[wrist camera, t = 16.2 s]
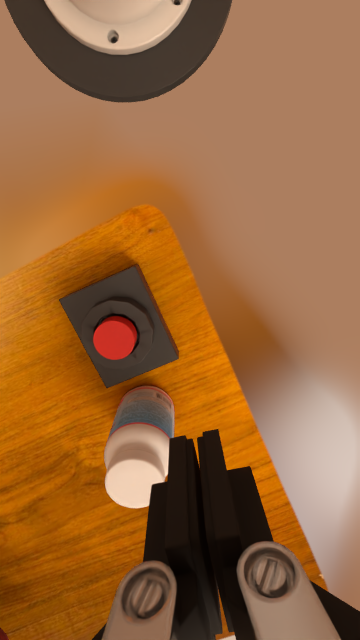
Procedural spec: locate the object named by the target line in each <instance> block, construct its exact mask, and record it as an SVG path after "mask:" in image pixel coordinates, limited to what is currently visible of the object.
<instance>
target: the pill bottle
mask: <svg viewBox="0 0 360 640" xmlns="http://www.w3.org/2000/svg"><path fill="white" fill-rule="evenodd" d="M170 438H174V405H173V402H172V400H171V398H170V397H169V396H168V394H167V393H165V392H164V391H163V390H161V389H159V388H157V387H154V386H140V387H137V388H134V389H132V390H130V391H129V392H127V393H126V394H125V395H124V396H123V398H122V399H121V401H120V404H119V407H118V410H117V413H116V416H115V419H114V422H113V425H112V428H111V431H110V434H109V438H108V441H107V444H106V447H105V452H104V461H105V465H106V468H107V473H106V477H105V487H106V491H107V493H108V494H109V496H110V497H111V498H112V499H113V500H114V501H115V502H117V503H118V504H120V505H122V506H125V507H129V508H142V507H146V506H148V505H149V502H150V493H151V486H152V484H156V483H161V482H164V480H165V477H166V476H167V474H168V459H169V439H170Z"/></svg>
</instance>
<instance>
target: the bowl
mask: <svg viewBox="0 0 360 640" xmlns="http://www.w3.org/2000/svg"><path fill="white" fill-rule="evenodd" d="M0 640H9V639H8V637H7V635H6V634H5V633H4V631H3V630H2V629H1V628H0Z"/></svg>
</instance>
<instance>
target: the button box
mask: <svg viewBox="0 0 360 640" xmlns="http://www.w3.org/2000/svg"><path fill="white" fill-rule="evenodd" d="M59 301H60V303H61V305H62V307H63V309H64V310H65V312H66V314H67V316H68V318H69V320H70V322H71V323H72V325H73V327H74V329H75V331H76V333H77V334H78V336H79V338H80V340H81V342H82V344H83V346H84V348H85V350H86V352H87V353H88V355H89V357H90V358H91V360H92V362H93V364H94V366H95V368H96V369H97V371H98V373H99V375H100V377H101V379H102V381H103V382H104V384H105V386H106V388H109V387H111V386H114V385H116V384H118V383H121V382H123V381H126V380H128V379H131V378H133V377H136V376H138V375H140V374H143V373H145V372H148V371H150V370H153V369H155V368H157V367H160V366H162V365H165V364H167V363H170V362H172V361H174V360H177V359H179V351H178V349H177V346H176V344H175V342H174V340H173V338H172V336H171V334H170V331H169V329H168V327H167V325H166V323H165V321H164V319H163V316H162V314H161V312H160V310H159V308H158V306H157V303H156V301H155V299H154V297H153V295H152V293H151V291H150V288H149V286H148V284H147V282H146V280H145V278H144V275H143V273H142V271H141V269H140V267H139V265H138V264H136V265H133V266H131V267H129V268H127V269H124V270H122V271H120V272H118V273H115V274H113V275H111V276H109V277H107V278H104V279H102V280H100V281H98V282H95V283H93V284H91V285H89V286H86V287H84V288H82V289H80V290H78V291H75V292H73V293H71V294H69V295H66V296H65V297H63V298H61V299H59ZM111 316H121V317H124V318H126V319H128V320H129V321H131V322H132V323H133V325H134V326H135V329H136V332H137V339H136V342H135V345H134V347H133V350H132V351H131V353H130V354H129V355H128V356H126V357H124V358H122V359H118V360H112V359H108V358H105V357H103V356H102V355H101V354H100V353H99V352H98V351H97V350H96V348H95V346H94V342H93V336H94V333H95V330H96V329H97V327H98V326H99V325H100V324H101V323H102V322H103V321H104V320H105V319H107V318H108V317H111Z"/></svg>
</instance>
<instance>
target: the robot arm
mask: <svg viewBox="0 0 360 640" xmlns="http://www.w3.org/2000/svg"><path fill="white" fill-rule="evenodd" d="M44 1H45V3H46V5H47V6H48V8H49V10H50V11H51V13H52V14H53V16H54V17H55V19H56V20H57V22H58V23H59V24H60V25H61V26H62V27H63V28H64V29H65V30H66V31H67V32H68V34H70V35H71V36H72V37H74V38H75V39H76V40H78V41H79V42H80V43H82V44H83V45H85V46H87V47H89V48H92V49H94V50H96V51H99V52H103V53H107V54H111V55H128V54H133V53H138V52H142V51H144V50H147V49H149V48H151V47H153V46H155V45H157V44H158V43H159V42H161V41H162V40H163V39H165V38H166V37H168V35H169V34H170V33H171V32H172V31H173V30H174V29H175V28H176V27H177V26H178V24H179V23H180V21H181V20H182V18H183V17H184V15H185V13H186V12H187V10H188V8H189V6H190V3H191V1H192V0H44ZM176 3H179V4H180V5H175V4H176ZM113 40H117V42H116V43H112V41H113ZM197 442H198V453H199V464H200V468H199V464H198V459H197V455H196V451H195V447H194V442H193V439H187V438H186V436H185V435H184V436H179V437H174V438H170V439H169V459H168V481H167V482H161V483H156V484H152V486H151V493H150V502H149V512H148V521H147V530H146V540H145V549H144V558H143V563H141V564H139V565H137V566H135V567H134V568H132V569H131V570H130V571H129V572H128V573H127V574H126V575H125V577H124V578H123V579H122V581H121V582H120V584H119V587H118V589H117V591H116V594H115V598H114V601H113V604H112V608H111V611H110V614H109V618H108V621H107V623H106V624H105V625H104V627H103V628H102V629H101V630H100V631H99V632H98V633H97V634H96V635H95V637H94V638H93V639H92V640H216V639H215V634H222V621H221V612H220V603H219V594H220V598H221V602H222V606H223V610H224V614H225V618H226V622H227V626H228V630H229V632H235V636H236V640H360V611H358V610H356V609H355V608H353V607H352V606H350V605H348V604H347V603H345V602H344V601H342V600H340V599H339V598H337V597H335V596H334V595H332V594H331V593H329V592H327V591H326V590H324V589H323V588H321V587H319V586H318V585H316V584H315V583H313V582H311V581H310V580H309V579H308V577H307V575H306V573H305V571H304V570H303V568H302V566H301V564H300V562H299V560H298V559H297V558H296V556H295V555H294V554H293V552H292V551H290V550H289V549H288V548H286V547H285V546H283V545H281V544H279V543H276V542H274V541H273V538H272V535H271V532H270V528H269V525H268V522H267V519H266V515H265V512H264V509H263V506H262V503H261V499H260V496H259V493H258V490H257V486H256V483H255V480H254V477H253V473H252V470H251V467H250V466H248V467H243V468H237V469H232V470H227V469H226V464H225V460H224V455H223V450H222V445H221V441H220V436H219V431H218V429H216V430H211V431H205V432H203V437H198V438H197ZM218 589H219V594H218Z"/></svg>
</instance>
